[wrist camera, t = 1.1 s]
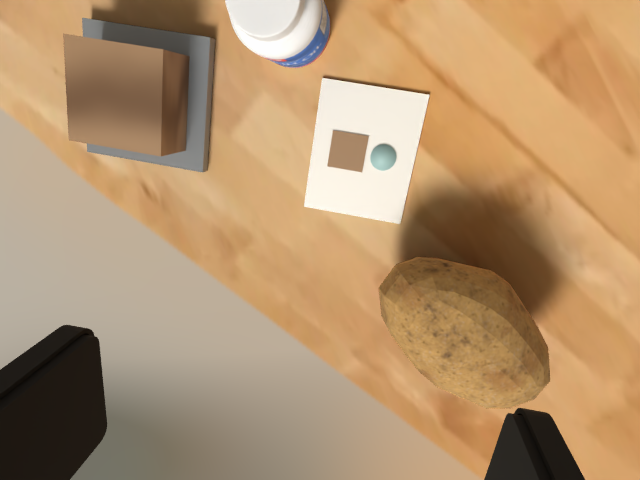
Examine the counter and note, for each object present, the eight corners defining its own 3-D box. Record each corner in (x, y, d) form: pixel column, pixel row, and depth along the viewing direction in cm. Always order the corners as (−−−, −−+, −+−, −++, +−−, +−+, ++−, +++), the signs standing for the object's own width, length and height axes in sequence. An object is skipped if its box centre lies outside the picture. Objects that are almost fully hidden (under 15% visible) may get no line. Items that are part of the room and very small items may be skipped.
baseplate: (91, 20, 31) (82, 17, 30) (215, 39, 31) (210, 37, 30) (95, 150, 35) (87, 151, 34) (207, 170, 34) (202, 172, 33)
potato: (429, 206, 32) (445, 236, 25) (553, 315, 34) (603, 374, 26) (349, 287, 36) (342, 336, 28) (465, 383, 37) (488, 454, 29)
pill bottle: (267, 75, 31) (221, 62, 22) (251, -3, 29) (195, -54, 20) (338, 60, 30) (321, 40, 21) (325, -22, 28) (301, -83, 19)
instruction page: (322, 78, 30) (322, 77, 30) (429, 94, 30) (429, 94, 30) (304, 205, 34) (303, 206, 33) (400, 223, 33) (400, 224, 33)
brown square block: (101, 42, 31) (63, 33, 27) (189, 56, 30) (163, 49, 26) (103, 136, 33) (68, 140, 29) (185, 150, 33) (160, 156, 29)
